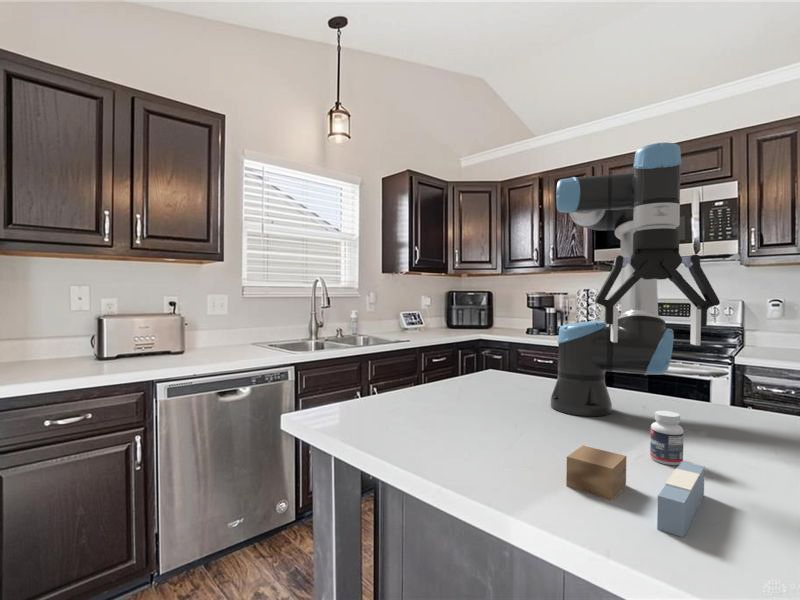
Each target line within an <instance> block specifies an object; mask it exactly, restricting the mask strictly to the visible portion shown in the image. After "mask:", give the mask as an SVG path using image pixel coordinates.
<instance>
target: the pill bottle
mask: <svg viewBox="0 0 800 600" xmlns="http://www.w3.org/2000/svg"><path fill="white" fill-rule="evenodd" d="M654 420H655V422H652V424H650V445H649V446H650V447H649V454H650V455H649V456H650V459H651V460H652V461H654V462H657V463H659V464H662V465H668V466H679V465H680V463H681V462H682V461H683V462H684V440H685V439H684V437H685V436H684V432H685V431H684V429H683V427H682V426H681V425H680V423H681V415H680V413H678V412H674V411H669V410H657V411H655V413H654Z"/></svg>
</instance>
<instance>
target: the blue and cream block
mask: <svg viewBox="0 0 800 600" xmlns="http://www.w3.org/2000/svg"><path fill="white" fill-rule="evenodd" d="M674 469H675V470H674V471H673V472H672V474H670V476H669V478H668V479H667V481H666V482H665V485H664V486H663V487H662V489H661V490H660V492H659V494H658V495H657V517H656V518H657V520H656V521H657V525H656V529H657V530H660V531H662V532H665V533H669V534H672V535H675V536H678V537H680V538H685V536H686V533H687V532H688V530H689V527H690V525H691V523H692V521H693V519H694V517H695V515H696V513H697V511H698V508H699V506H700V504H701V502H702V500H703V498H704V495H705V466H704V465H701V464H696V463H692V462H691V463H690V462H686V461H684V460H683V461H682V462H681V463H680V465H677V468H674Z"/></svg>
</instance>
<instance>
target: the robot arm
mask: <svg viewBox="0 0 800 600" xmlns="http://www.w3.org/2000/svg"><path fill="white" fill-rule="evenodd" d="M681 150H682V149H681V147H680V145H679V144H677V143H674V142H656V143H650V144H647V145H645V146H642V147H640V148H638V149H637V150H636V152H635V154H634V163H633V171H630V172H622V173H612V174H603V175H589V176H578V177H576V176H571V177H568V178H561V179H559V180H558V181H557V184H556V192H555V193H556V195H555V196H556V197H555V198H556V210H557V212H559V213H563V214H565V213H566V214H568V215H569V218H570V219H571V220H572V222H573V223H575V224H576V225H578V226H580V227H583V228H586V229H589V230H595V231H614V236H615V237H616V238H617V239H619V240H620V255H617V256H615V257H614V259H613V264H612V269H611V270H610V273H609V274H608V275H607V278H606V280H605V281H604V282H603V285H602V287H601V289H600V290H599V292H598V294H597V296H596V297H595V300H594V302H595V303H596V304H598V305H601V306H603V307H604V320H591V321H580V322H571V323H565V324H563V325H562V326H560V328H558V329H559V330H558V340H557V344H558V347H557V348H558V356H557V357H558V358H557V379H556V383H555V385H554V387H553V391H552V393H551V396H550V407H551V408H552V409H554V410H556V411H558V412H561V413H565V414H567V415H568V414H569V415H575V416H583V417H601V416H603V417H604V416H608V415H610V414H611V413H612V412H613V411H612V408H613V405H612V400H611V396H610V394H609V391H608V387H607V385H606V384H607V383H606V372H609V373H610V372H611V373H612V372H613V373H622V374H623V373H625V374H637V375H638V374H639V375H644V376H647V375H659V376H660V375H664V374H665V373H666V372H667V371H668V369H669V367H670V363H671V360H672V353H673V347H674V339H675V338H674V330H673V329H672V328H667V327H666V319H664V318H663V317H661V316H660V315H659V302H658V301H659V299H658V298H659V297H658V281H659V280H660V281H661V280H663V281H664V280H667V279H668V280H669V281H670V282H672V283H673V284H674V285H675V286H676V288H678V289H679V291H680V292H682V294H683V295H684V296H685V297H686V298H687V299H688V300H689V301H690V302H691V304H693V305H694V307H696V308H691V309H690V338H689V339H690V343H689V344H690V345H693V346H699V347H700V346H701V340H702V339H701V335H702V334H701V332H702V331H701V330H702V328H703V327H704V328H705V327H707V324H708V310H709V309H710V308H712V307H716V306H719V305H720V304H721V302H720V301H721V300H720V299H719V298H718V295H717V294H716V291H715V290H714V288H713V286H712V283H710V281H709V279H708V278H707V276H706V274H705V272H704V270H703V268H702V266H701V257H700V255H699V254H691V255H687V256H682V255H681V254H680V230H679V229H677V228H678V227H679V226H680V225H681V224H680V223H681V222H680V219H681V217H680V216H681V215H680V212H681V209H680V208H681V199H680V197H681V194H680V193H681V174H682V172H681V171H682V169H681V168H682V167H681V166H682V164H683V160H682V158H681V157H682V151H681ZM681 264H683V266H684V267H685V268H687V269H688V272H690V275H691V277H692V278H693V280H694V282H695V283H696V285H697V288H698V289H699V291H700V293H701V295H702V296H701V295H700V294H699V293H698V292H697V291H696V290H695V289H694V288H693V286H692V285H690V283H688V282H687V280H686V279H685V278H684V277H683V275H682V274H681V273H680V272H679V270H677V269H678V268H679V267H680V266H681ZM619 275H620V286H619V287H618V288H617V290H616V291H614V293H613V294H612V295H611V296H610V297H609V298H608V299H606V298H607V296H608V294H609V293H610V291H611V290H612V288H613V286H614V284H615V282H616V280H617V279H618V277H619ZM619 301H620V316H619V308H618V307H614V306H615V304H617V303H618V302H619ZM607 325H610V326H607Z"/></svg>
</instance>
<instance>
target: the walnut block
mask: <svg viewBox="0 0 800 600" xmlns="http://www.w3.org/2000/svg"><path fill="white" fill-rule="evenodd" d="M565 485H566V487H568V488H571V489H575V490H578V491H581V492H585V493H588V494H591V495H594V496H597V497H600V498H603V499H607V500H610V501H613V500H614V499H615V498H616V496H617V495H619V493H620V492H621V491H622V490H623V489H624V488H625V487H626V486H627V455H625V454H619V453H615V452H611V451H607V450H603V449H600V448H595V447H591V446H586V445H581V446H580V447H578V448H577V449H575V450H574V451H573V452H572V453H570V454H568V455H567V456H566V484H565Z"/></svg>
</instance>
